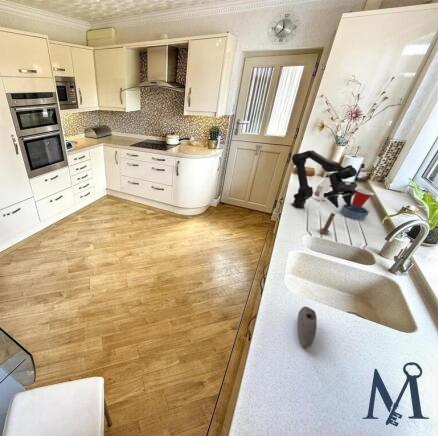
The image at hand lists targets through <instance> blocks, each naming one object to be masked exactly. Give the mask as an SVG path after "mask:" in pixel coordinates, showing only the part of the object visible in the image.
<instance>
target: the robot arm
mask: <svg viewBox="0 0 438 436" xmlns="http://www.w3.org/2000/svg"><path fill="white" fill-rule="evenodd" d="M308 159H310V160H312V161H313V162H315V163H317V164H318V165H320V166H321V168H322V169H323V170H324V171H325V173H326V174H327V175H326V176H325V175H324V176H325V178H328V177H329V179H330V183H331V185H329V186H330V188H331V189H332V190H329V191H328V192H326V193H324V194H323V196H324V198H325V199H326V200H327V201H329V202H330V203H331V204H332V205H333V206H334V207H335V208H336V209H338V208H339V207H340V206H339V200H338V199H339V196H340V195H341V198H342V200H343V201H344V203H345V204H347V206H351V205H352V200H353V197H354V195H355V193H357V192H356V188H358V184H357V182H355V181H353V182H350V183H346V182H345V181H344V180H347V179H350V178H353V177H356V176H357V174H358V171H357V169H356V168H355V167H354V166H353V165H352V164H349V165H347V166H342V165H341V163H340V162H338V161H335V160H331V159H328V158H326V157H324V156H322V155H321V154H320V153H317V152H316V151H315V150H306V151H302V152H298V153H294V154H293V155H292V156H291V161H292V164H293V165H294V166H295V169H296V173H297V178H298V186H299V187H298V189H297V193H295V194H293V199H294V200H293V202H291V203H290V205H292V206H293V207H294V208H295V209H305V205H306V203H307V200H309V199H310V198H313V195H314V189H313V186H310V185H309V183H308V177H307V172H306V166H305V165H306V163H307V160H308Z"/></svg>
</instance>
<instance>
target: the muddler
mask: <svg viewBox="0 0 438 436" xmlns="http://www.w3.org/2000/svg"><path fill="white" fill-rule="evenodd" d="M335 216H336V214H335V213H333V212H330V214H329V216H328V218H327V220H326V221H325V224H324V226H323V227H320V229H319V231H318V232H319V233H320V234H321V235H325V236H327V235H329V233H330V230H329V228H330V226H331V224H332V222H333V220H334V219H335Z"/></svg>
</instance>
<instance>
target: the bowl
mask: <svg viewBox="0 0 438 436" xmlns="http://www.w3.org/2000/svg"><path fill="white" fill-rule="evenodd" d="M339 213H340V214H342V215H343V216H345V217H346V218H349V219H352V220H357V221H358V220H359V221H363V220H366V219H367V217H368V216H369V214H370V211H369V210H368V209H366V208H364V207H363V206H361V207H359V206H356V205H352V204H351V206H347V204H346V203H345V204H342V206H341V208H340V210H339Z"/></svg>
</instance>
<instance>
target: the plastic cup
mask: <svg viewBox="0 0 438 436" xmlns="http://www.w3.org/2000/svg"><path fill="white" fill-rule="evenodd" d="M355 190H356V192H357V193H354V194H355V195H353V197H352V201H351V205H356V206H359V207H363V205H364V204H365V203H367V201H368V200H369V199H370V198H371V197H372V196H374V194H375V193H373V192H372V191H370V190H368V189H365V188H358V187H356V188H355Z"/></svg>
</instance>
